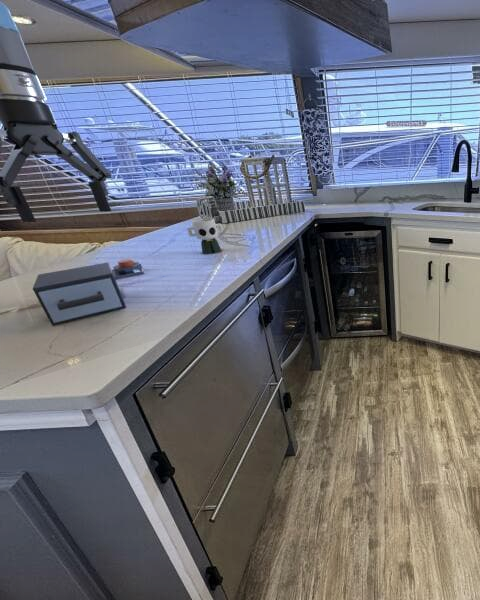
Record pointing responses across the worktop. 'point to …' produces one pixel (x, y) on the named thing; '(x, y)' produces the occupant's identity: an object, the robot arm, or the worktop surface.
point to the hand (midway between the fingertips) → (71, 216)
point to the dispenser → (75, 277)
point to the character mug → (206, 234)
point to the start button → (126, 263)
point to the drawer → (80, 299)
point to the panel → (127, 271)
